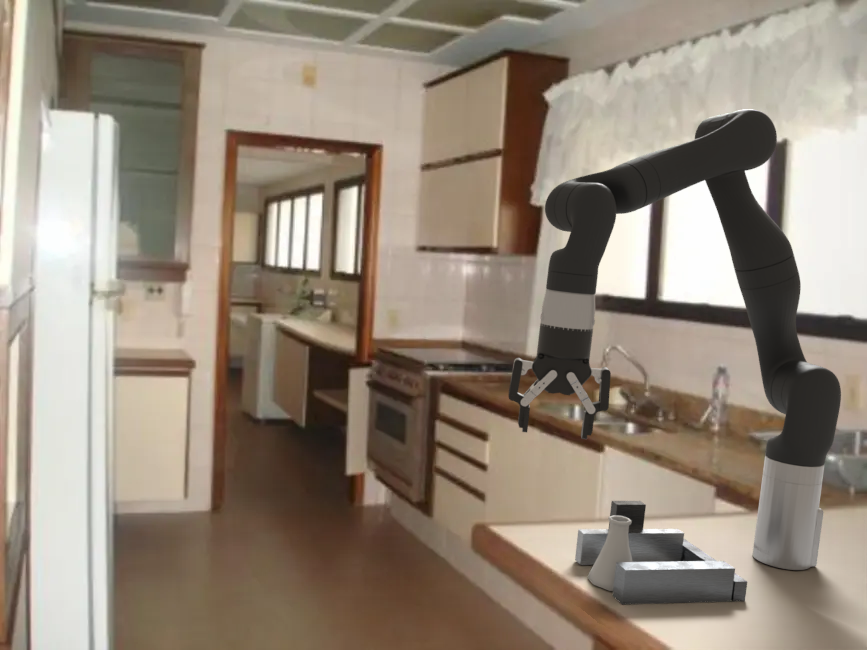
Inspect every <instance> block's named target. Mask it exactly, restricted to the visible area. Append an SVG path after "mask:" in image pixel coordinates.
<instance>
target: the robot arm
mask: <svg viewBox="0 0 867 650" xmlns="http://www.w3.org/2000/svg"><path fill="white" fill-rule="evenodd" d="M777 141H778V137H777V130H776V127H775V124H774V122H773V121H772V119H771V118H770V117H769V115H767V114H766V113H765V112H763V111H761V110H758V109H752V108H749V109H747V108H746V109H745V108H744V109H739V110H735V111H731V112H726V113H722V114H717V115H713V116H709V117H708V118H705V119H704V120H702V121H700V123H699V124H698V126H697V128H696V130H695V133H694V139H693V140H690V141H686V142H683V143H680V144H677V145H674V146H670V147H665V148H661V149H658V150H655V151H652V152H649V153H646V154H644V155H641V156H638V157H635V158H632V159H631V160H628V161H625V162H622V163H621V164H618V165H616V166H614V167H612V168H610V169H607V170H603V171H598V172H595V173H591V174H587V175H582V176H578V177H575V178H571V179H569V180H566V181H564V182H562V183H560V184H558V185H556V186H555V187H554V188H553V189H551V191H550V193H549V194H548V196H547V198H546V200H545V204H544V214H545V216H546V219H547V221H548V222H549V224H551V225H552V226H553V227H554V228H556V229H558V230H559V231H563V232H569V236H568V239H567V242H566V244H565V247H563V248H559V249H556V250H554V251H553V252H552V253H551V255H550V257H549V262H548V269H547V275H546V277H547V278H546V284H545V285H546V286H545V293H544V297H543V301H542V305H541V307H542V308H541V314H540V323H539V332H538V341H537V347H536V348H537V350H536V355H535V358H534V360H533V361H532V360H524V359H522V358H520V357H516V358H515V359H513V365H512V369H511V370H512V371H511V377H510V381H509V382H510V384H509V388H508V400H509V401H513V402H515V403H517V404H518V405H519V410H518V419H517V420H518V421H517V422H518V428H520V429H521V432H522V433H528V430H529V422H530V421H529V420H530V411H531V405H530V404H531V403H532V402H533V400H534V399H535V398H537V397H538V396H539V395H540V394H541V393H542V392H543V391H545V392H547V393H548V394H552V395H553V394H559V393H560V394H562V395H564V396H571V395H574V394H576V395H577V398H578V399H579V401H580V402H581V403H582V406H583V408H585V410H583V414H582V415H583V416H582V423H581V432H580V437H581V438H580V439H581V440H587V439H588V436H592V433H593V429H594V422H595V415H596V414H597V413H598V412H606V411H608V410H609V405H610V389H611V376H612V375H611V371H610V369H609V368H608V367H607V366H602V367H601V368H598V367H594V368H593V367H591V365H590V359H591V358H590V357H591V349H592V342H593V341H592V340H593V336H594V335H593V334H594V326H595V323H596V319H595V316H596V315H595V314H596V295H597V294H596V293H597V285H598V278H599V277H598V276H599V266H600V263H601V260H602V259H603V257H604V254H605V251H606V249H607V246H608V243H609V241H610V238H611V235H612V233H613V230H614V226H615V224H616V219H617V218H616V217H617V215H620V214H629V213H632V212H637V211H638V210H640V209H643V208H645V207H647V206H650V205H651V204H652V205H653V204H654V203H656V202H658V201H661V200H662V199H665V198H667V197H669V196H672V195H673V194H676V193H678V192H680V191H682V190H685V189H687V188H689V187H692V186H694V185H697V184H698V183H701V182H704V181H705V184H706V186H707V188H708V191H709V193H710V196H711V198H712V201H713V203H714V206H715V208H716V211H717V214H718V218H719V220H720V221H719V222H720V223H721V227H722V230H723V233H724V236H725V240H726V243H727V245H728V249H729V253H730V257H731V261H732V266H733V268H734V269H733V270H734V273H735V277H736V280H737V284H738V287H739V289H740V293H741V296H742V300H743V302H744V306H745V310H746V314H747V316H748V320H749V325H750V327H751V330H752V333H753V337H754V341H755V345H756V350H757V356H758V361H759V362H758V363H759V369H760V374H761V380H762V387H763V391H764V394H765V397H766V399H767V401H768V402H769V404H770V405H771V407H772V408H773V409H774V410H776V411H778V412H779V413H781V414H783V415H785V417H784V423H783V426H782V427H783V428H782V431H780V433H779V434H778V435H774V436H772V437H770V438H768V439H767V441H766V446H765V454H764V461H763V469H762V476H761V477H762V479H761V486H760V493H759V501H758V508H757V515H756V523H755V531H754V539H753V547H752V556H753V558H754V559H755V560H757V561H758V562H760V563H762V564H765V565H767V566H771V567H773V568H779V569H783V570H789V571H790V570H791V571H792V570H793V571H804V570H808V569H809V568H811V567H817V566H818V565H817V564H818V558H819V556H818V555H819V548H820V541H821V534H822V527H823V526H822V525H823V519H824V509H822V508H821V507H820V502H821V501H820V500H821V494H822V486H823V480H824V479H823V477H824V471H825V463H826V458H827V456H828V453H829V452H830V451H831V449H832V447H833V443H834V440H835V435H836V430H837V424H838V419H839V416H840V415H839V414H840V409H841V408H840V407H841V400H842V392H841V391H842V390H841V384H840V381H839V379H838V377H837V375H836V374H835V373H834V372H833V371H831V370H830V369H828V368H826V367H823V366H821V365H820V366H819V365H816V364H813V363H810V362H807V360H806V357H805V355H804V352H803V349H802V346H801V343H800V340H799V336H798V332H797V325H796V324H797V313H798V308H799V303H800V297H801V277H800V273H799V269H798V265H797V261H796V258H795V254H794V250H793V247H792V245H791V242H790V240H789V238H788V236H786V234H785V233H784V231H783V230H782V228H780V226H779V225H778V224H777V223H776V222H775V220H773V219H772V217H771V216H770V215H769V214H768V213H767V212H766V211H765V210H764V208H763V207H762V206H761V205H760V203H759V202H758V200H757V199H756V197H755V196H754V194H753V192H752V189H751V187H750V183H749V182H748V177H747V174H746V171H751V170H753V169H754V170H755V169H757V168H759V167H761V166H763V165H764V164H765V163H767V162H768V160H770V158H771V157H772V156H773V154H774V152H775V149H776V147H777ZM530 369H532V372H533V374H534V376H536V380H535V381H534V383H532V384H531V386H529V388H528V389H527V390H526V391H525V392H524V393H520V392H519V388H520V381H521V376H525V375H526V374H527V373H528V370H530ZM591 376H592V377H594V381H595V382H596V383H597V384H598V385H599V389H598V392H599V393H598V401H593V402H592V400H591V399H590V397H589V395H588V393H587V392H586V390H585V388H584V387H583V385H584V384H585V383H586V382H587V381H588V380H589V379H590V378H591Z"/></svg>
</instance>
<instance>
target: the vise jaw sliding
mask: <svg viewBox="0 0 867 650" xmlns="http://www.w3.org/2000/svg"><path fill="white" fill-rule="evenodd" d="M646 506H647V504H646V503H644V502H642V501H641V500H611V504H610V513H609V517H610V516H613V515H614V516H624V517H627V518H629V519H630V520H631V521H632V523H631V525H629V531H628V538H629V548H630V552H631V557H632V561H633V562H672V561H681V556H682V548H683V539H685V532H684V531H682V530H680V529H679V528H644V524H645V516H646V515H645V514H646ZM608 522H609V523H608V528H604V529H603V528H588V529H587V528H585V529H584V528H583V529H582V528H578V529H577V538H576V539H577V540H576V549H575V557H574V561H576V563H577V564H579V565H580V566H584V565H585V566H586V565H587V566H589V565H591V566H593V565H594V563H595V561H596V560H597V558H598V556H599V554H600V552H601V550H602V548H603V546H604V544H605V542H606V539H607V535H608V532H609V527H610V521H609V520H608Z"/></svg>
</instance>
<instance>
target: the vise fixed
mask: <svg viewBox="0 0 867 650" xmlns="http://www.w3.org/2000/svg"><path fill="white" fill-rule="evenodd" d="M747 588H748V580H746V579H745V578H743V577H741V576H740V575H739V574H737V573H736V567H734V566H732V565H731V564H729V563H728V562H726V561H725V560H716V559H715V558H713V557H712V556H711V555H709V554H707V553H706V552H705V551H703V550H702V549H701V548H700V547H697V546H696V545H694V544H693V543H691V541H688V540H687V539H685V538H684V539H683V548H682V556H681V561H672V562H616V569H615V578H614V587H613V591H612V597H613V598H614V599H616V601H617V602H619V604H621V605H653V604H657V605H658V604H685V603H686V604H687V603H689V604H690V603H721V602H722V603H723V602H725V603H726V602H727V603H728V602H731V603H732V602H745V601H746V596H747Z"/></svg>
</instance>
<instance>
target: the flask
mask: <svg viewBox="0 0 867 650" xmlns="http://www.w3.org/2000/svg"><path fill="white" fill-rule="evenodd" d="M607 520H608V522H609V521H610V527H609V526H608V529H609V532H608V535H607V539H606V542H605V544H604V546H603V548H602V550H601V552H600V554H599V556H598V558H597V560H596V561H595V563H594V565H592V567H591V569H590V570H589V573H588V575H587V577H586V578H587V579H588V580H589V581H590V582H591V583H592V585H594V586H597V588H598V587H599V588H600V589H604V590H607V591H609V592H613V587H614V578H615V569H616V562H633V561H632V557H631V552H630V548H629V538H628V531H629V525H631V523H632V521H631V520H630V519H629V518H627V517H624V516H614V515H613V516H610V515H609V516H608V519H607Z"/></svg>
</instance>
